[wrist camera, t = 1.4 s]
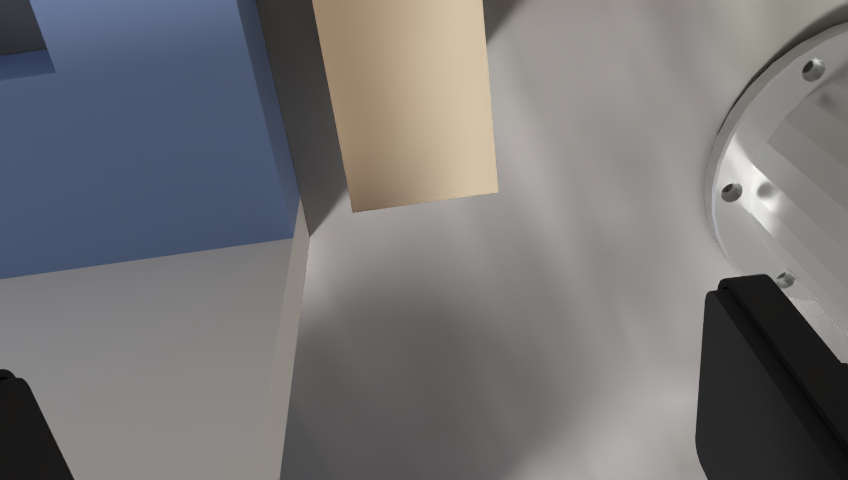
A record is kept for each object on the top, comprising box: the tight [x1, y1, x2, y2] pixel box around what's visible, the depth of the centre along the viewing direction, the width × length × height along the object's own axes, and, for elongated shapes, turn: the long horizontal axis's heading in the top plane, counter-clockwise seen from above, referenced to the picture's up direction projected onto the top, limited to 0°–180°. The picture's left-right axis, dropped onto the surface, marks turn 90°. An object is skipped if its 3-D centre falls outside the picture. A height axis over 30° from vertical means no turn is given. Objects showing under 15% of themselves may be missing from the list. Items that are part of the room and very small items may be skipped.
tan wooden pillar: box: [312, 0, 498, 213], centre depth 24 cm, size 4×6×10 cm, turn 7°
